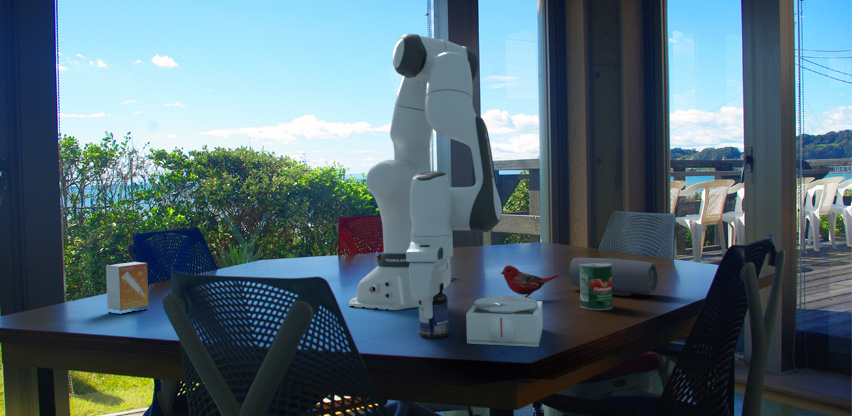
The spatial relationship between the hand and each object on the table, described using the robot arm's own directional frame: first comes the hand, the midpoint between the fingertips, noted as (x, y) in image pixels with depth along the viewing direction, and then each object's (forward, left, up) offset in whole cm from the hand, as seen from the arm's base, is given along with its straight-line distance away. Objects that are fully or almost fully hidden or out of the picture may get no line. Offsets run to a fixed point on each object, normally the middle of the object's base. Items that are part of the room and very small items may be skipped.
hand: (433, 313), depth 117 cm
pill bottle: (0, 0, -5) cm, 5 cm away
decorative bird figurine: (+17, +40, -5) cm, 44 cm away
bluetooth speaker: (+39, +52, -5) cm, 65 cm away
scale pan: (+15, +2, -1) cm, 15 cm away
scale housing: (+15, +2, -5) cm, 16 cm away
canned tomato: (+34, +33, -5) cm, 48 cm away
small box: (-89, +11, -5) cm, 90 cm away
